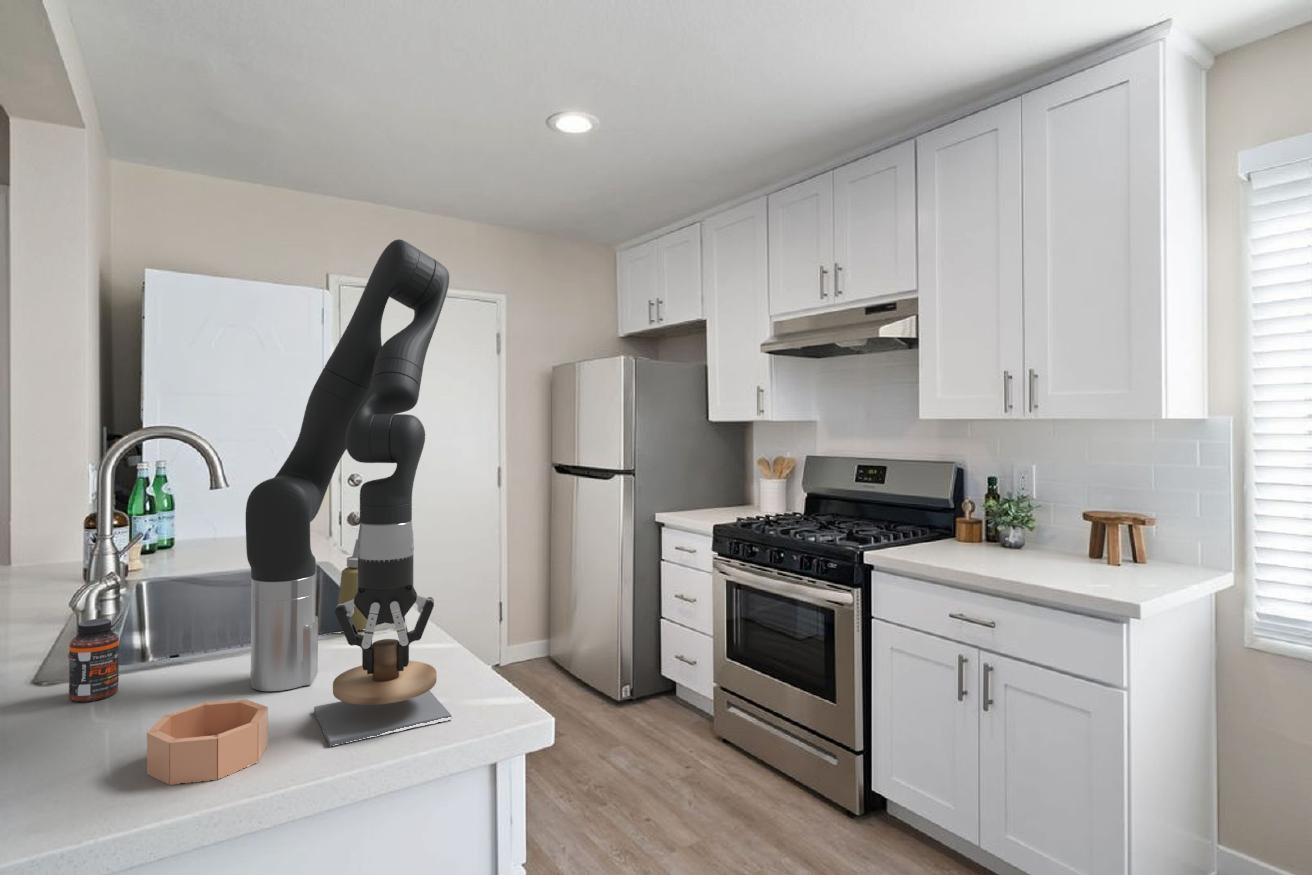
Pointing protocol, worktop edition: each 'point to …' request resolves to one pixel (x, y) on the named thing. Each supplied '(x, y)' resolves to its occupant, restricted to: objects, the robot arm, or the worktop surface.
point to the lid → (384, 678)
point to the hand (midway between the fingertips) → (385, 670)
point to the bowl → (207, 741)
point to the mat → (376, 717)
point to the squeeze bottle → (351, 588)
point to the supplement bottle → (93, 661)
